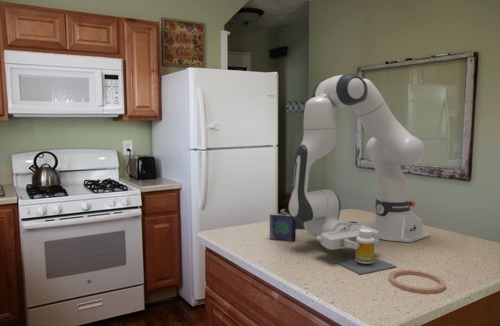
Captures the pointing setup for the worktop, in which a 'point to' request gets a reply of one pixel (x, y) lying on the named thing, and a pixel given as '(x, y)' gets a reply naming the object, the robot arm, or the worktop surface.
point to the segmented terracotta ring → (417, 289)
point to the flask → (282, 227)
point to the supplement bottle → (365, 247)
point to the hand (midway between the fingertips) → (367, 244)
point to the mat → (364, 265)
